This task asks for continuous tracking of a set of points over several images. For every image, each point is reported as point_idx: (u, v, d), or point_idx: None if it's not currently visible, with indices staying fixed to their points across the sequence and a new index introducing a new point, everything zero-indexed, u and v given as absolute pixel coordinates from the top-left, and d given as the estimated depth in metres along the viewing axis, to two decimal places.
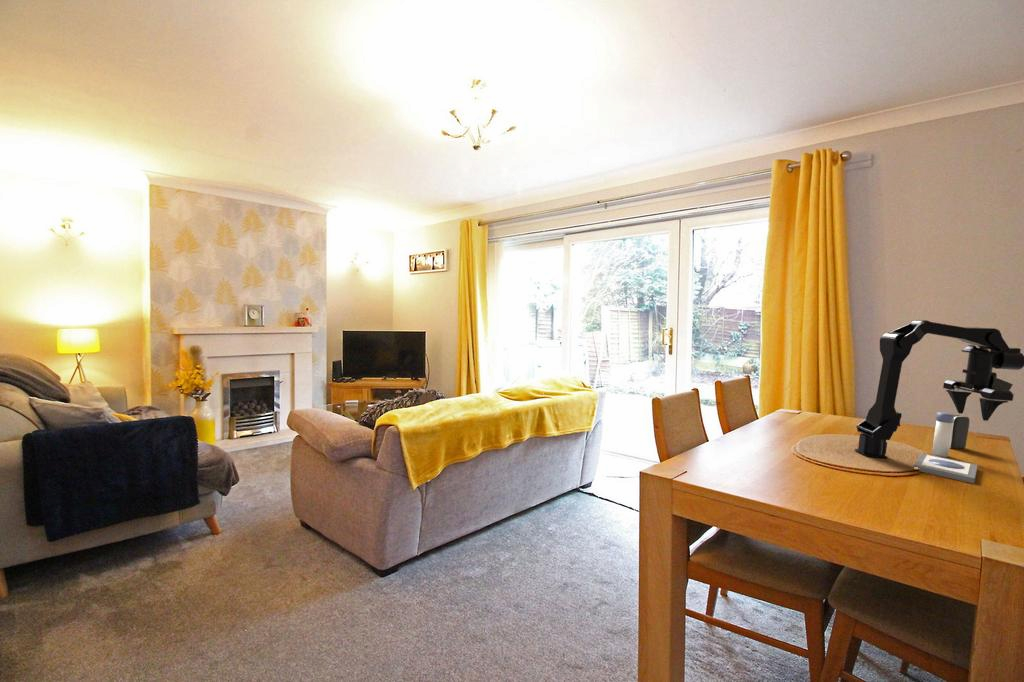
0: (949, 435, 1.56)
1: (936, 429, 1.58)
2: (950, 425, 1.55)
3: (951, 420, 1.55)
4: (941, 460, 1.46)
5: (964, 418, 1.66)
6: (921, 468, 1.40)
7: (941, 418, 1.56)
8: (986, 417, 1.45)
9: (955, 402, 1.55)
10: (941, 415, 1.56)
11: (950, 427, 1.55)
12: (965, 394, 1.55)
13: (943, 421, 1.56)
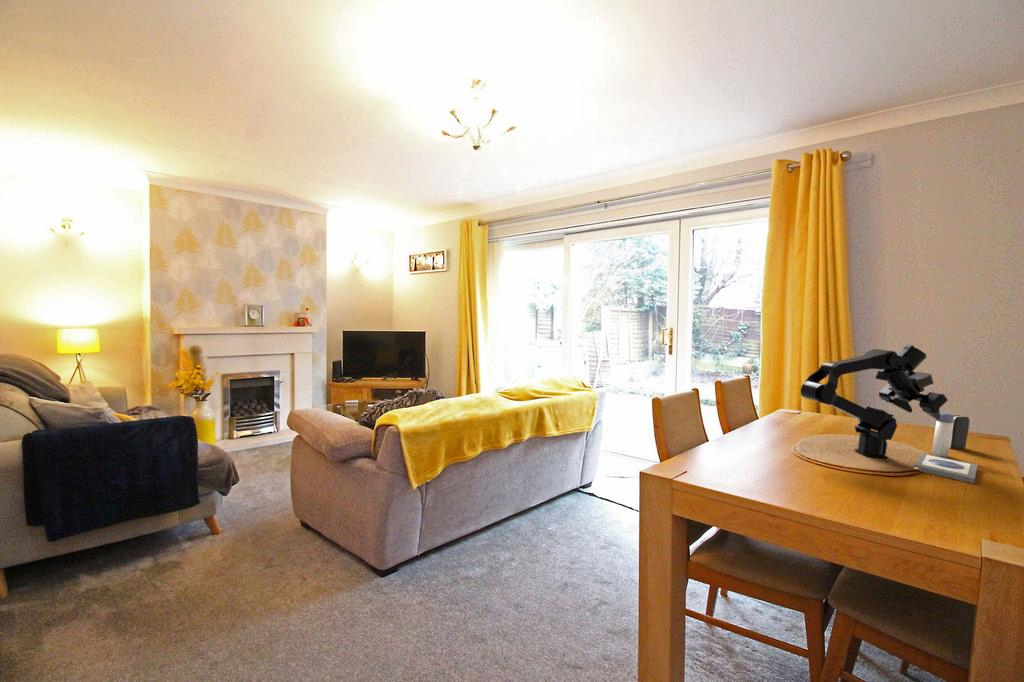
0: (949, 435, 1.56)
1: (936, 429, 1.58)
2: (950, 425, 1.55)
3: (951, 420, 1.55)
4: (941, 460, 1.46)
5: (964, 418, 1.66)
6: (921, 468, 1.40)
7: (941, 418, 1.56)
8: (938, 416, 1.51)
9: (901, 407, 1.60)
10: (941, 415, 1.56)
11: (950, 427, 1.55)
12: None
13: (943, 421, 1.56)
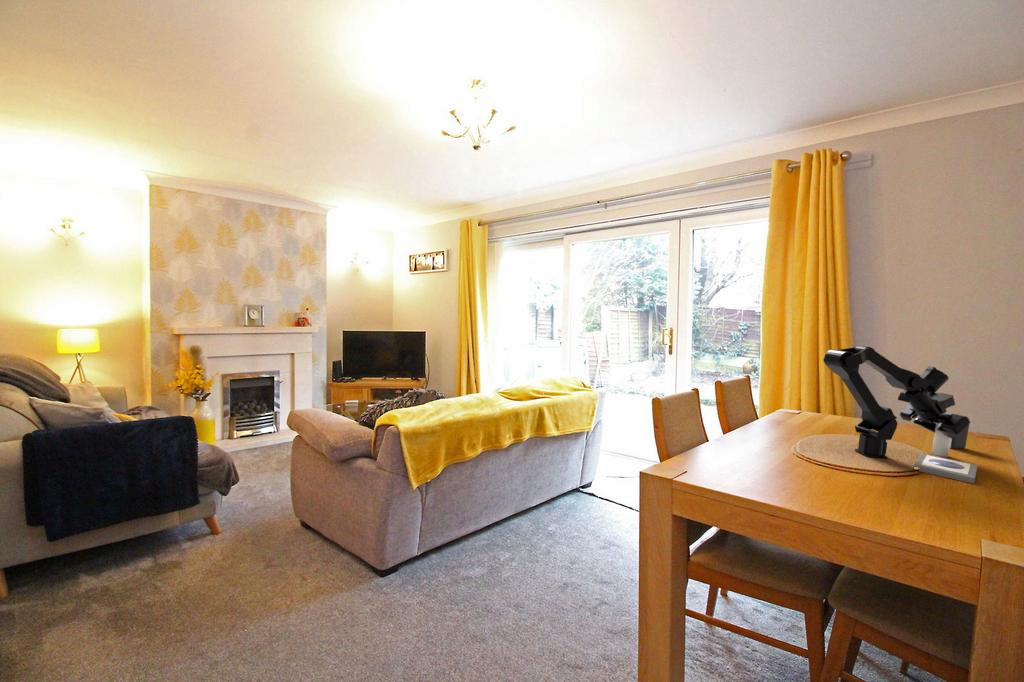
0: None
1: (936, 429, 1.58)
2: None
3: None
4: (941, 460, 1.46)
5: None
6: (921, 468, 1.40)
7: None
8: (952, 435, 1.55)
9: (929, 429, 1.60)
10: None
11: None
12: None
13: None
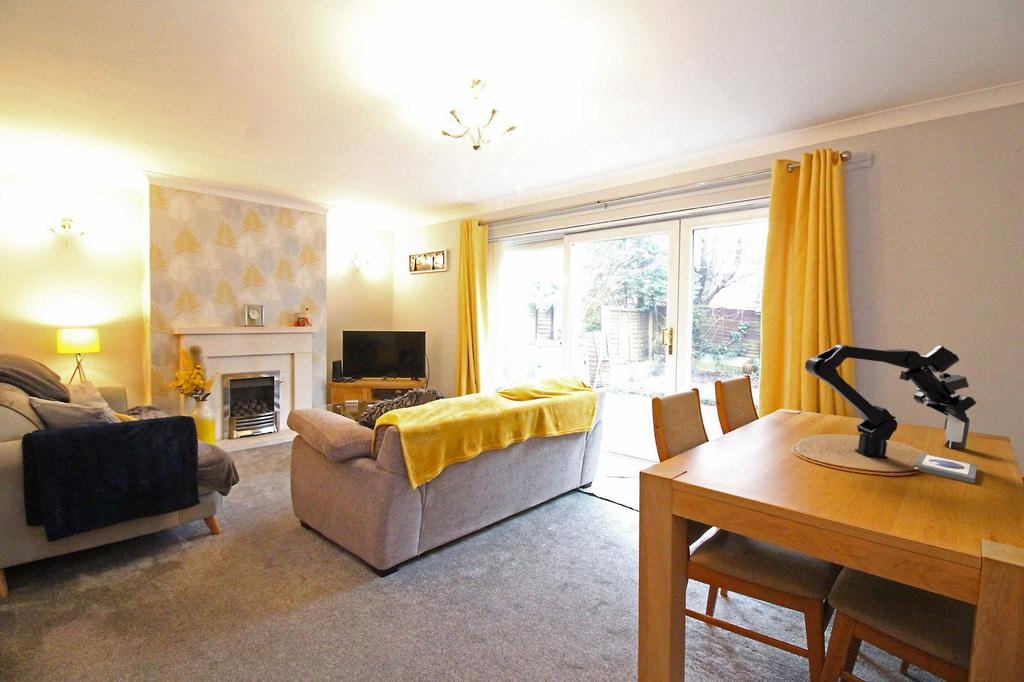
0: None
1: None
2: None
3: None
4: (941, 460, 1.46)
5: None
6: (921, 468, 1.40)
7: None
8: (965, 419, 1.47)
9: (943, 413, 1.52)
10: None
11: None
12: None
13: None
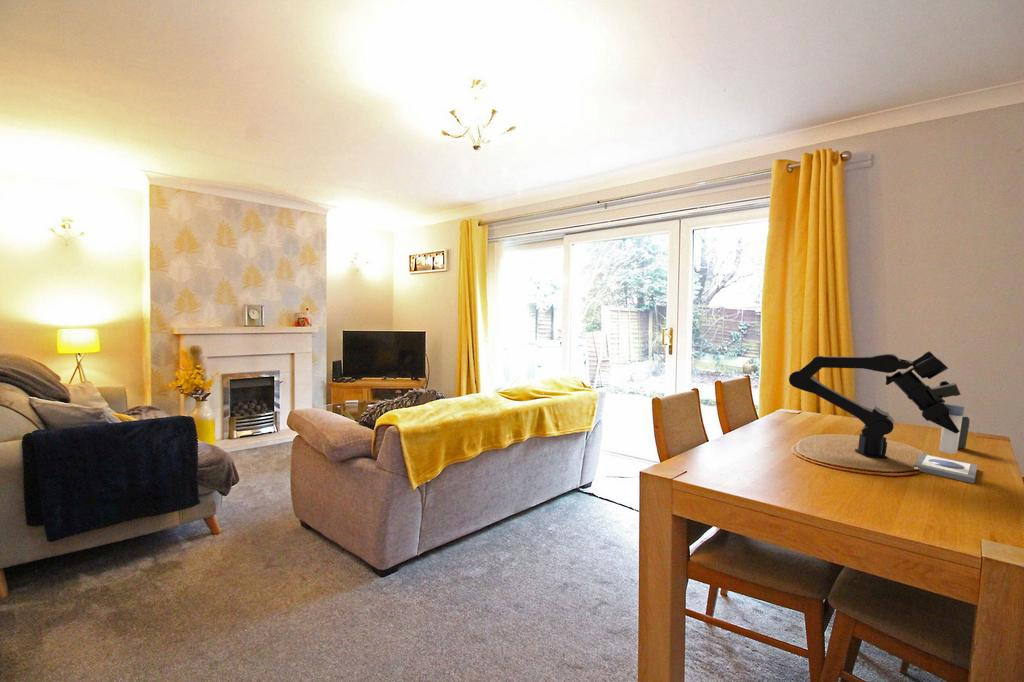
0: None
1: None
2: (953, 418, 1.40)
3: (954, 412, 1.40)
4: (941, 460, 1.46)
5: (964, 418, 1.66)
6: (921, 468, 1.40)
7: None
8: (954, 429, 1.40)
9: None
10: None
11: (954, 420, 1.40)
12: None
13: None
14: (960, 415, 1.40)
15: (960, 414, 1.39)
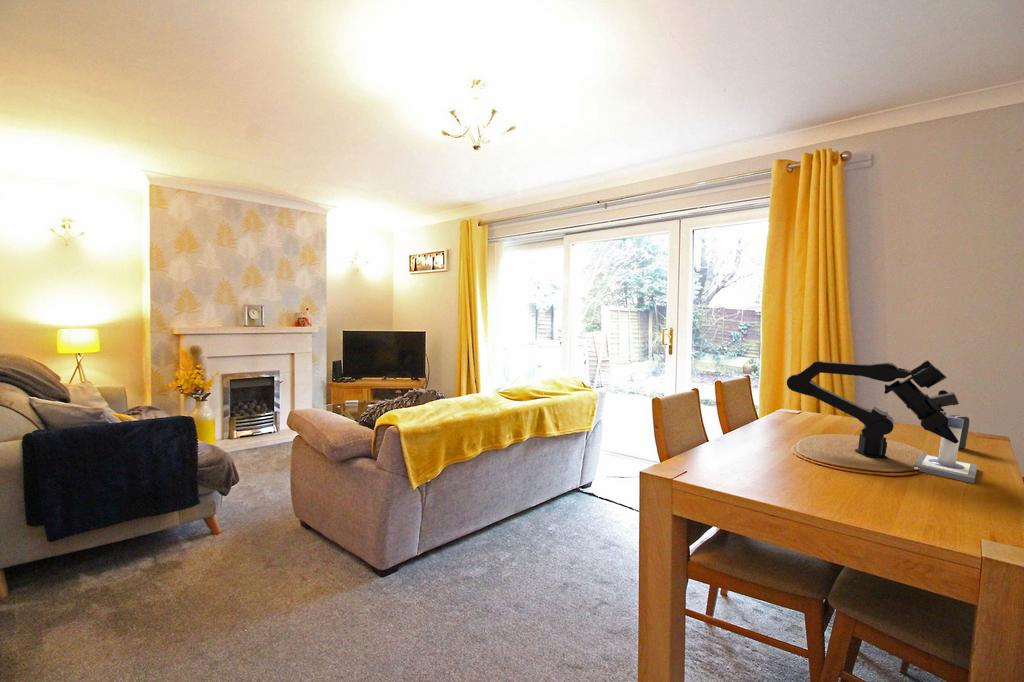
0: None
1: None
2: (953, 430, 1.40)
3: (954, 425, 1.40)
4: None
5: (964, 418, 1.66)
6: (921, 468, 1.40)
7: None
8: (953, 439, 1.39)
9: None
10: None
11: (953, 432, 1.40)
12: None
13: None
14: (959, 428, 1.40)
15: (959, 427, 1.40)
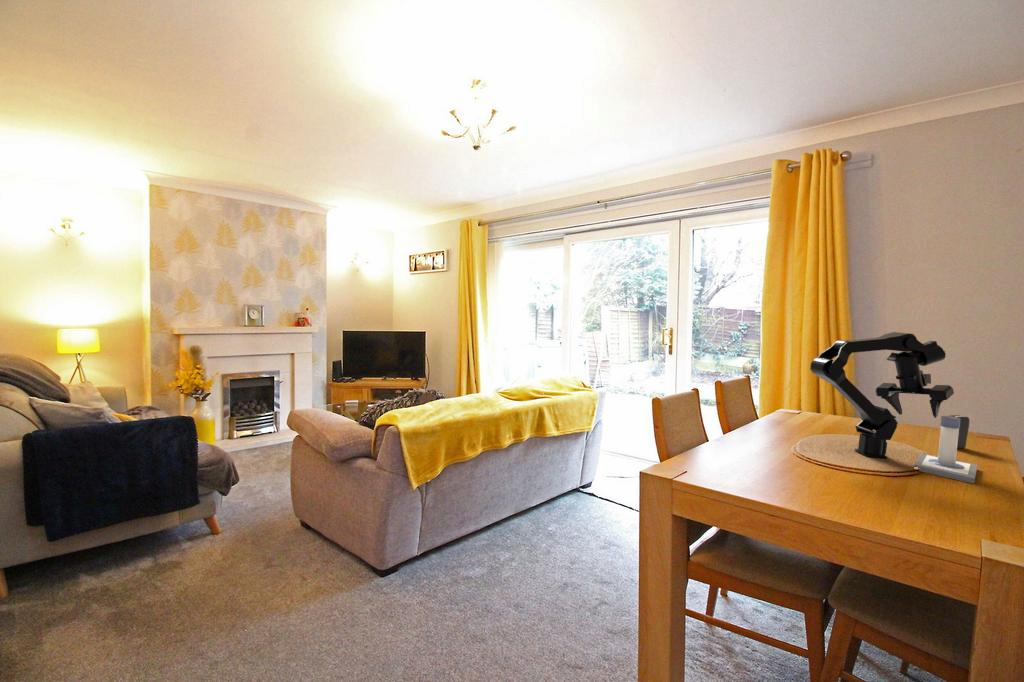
0: (950, 441, 1.40)
1: None
2: (950, 430, 1.40)
3: (950, 425, 1.40)
4: None
5: (964, 418, 1.66)
6: (921, 468, 1.40)
7: (941, 422, 1.42)
8: (936, 413, 1.50)
9: (895, 406, 1.57)
10: (941, 418, 1.42)
11: (950, 433, 1.40)
12: (897, 395, 1.58)
13: (942, 425, 1.42)
14: (956, 428, 1.39)
15: (956, 427, 1.39)
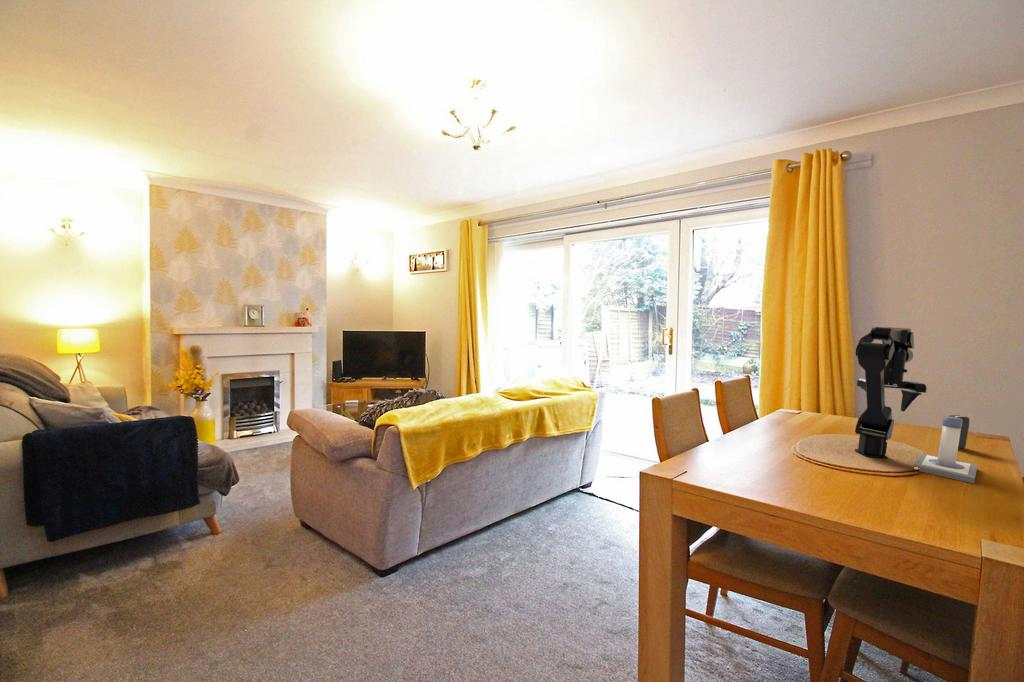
0: (951, 441, 1.41)
1: None
2: (952, 430, 1.40)
3: (952, 425, 1.40)
4: None
5: (964, 418, 1.66)
6: (921, 468, 1.40)
7: (943, 422, 1.42)
8: None
9: None
10: (943, 418, 1.43)
11: (952, 433, 1.40)
12: None
13: (944, 425, 1.42)
14: (958, 428, 1.40)
15: (958, 427, 1.40)
